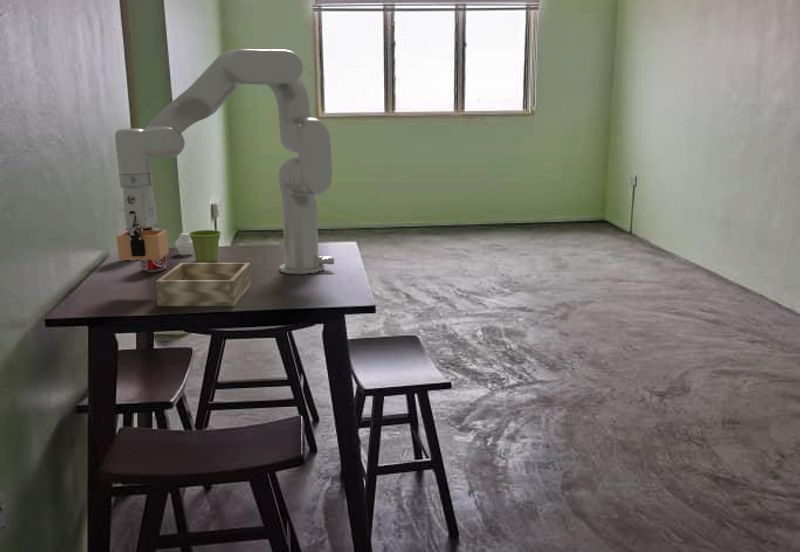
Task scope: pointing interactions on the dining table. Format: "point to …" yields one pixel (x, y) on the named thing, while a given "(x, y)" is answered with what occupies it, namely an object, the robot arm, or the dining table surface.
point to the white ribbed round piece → (184, 244)
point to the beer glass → (122, 223)
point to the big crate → (204, 284)
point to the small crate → (153, 245)
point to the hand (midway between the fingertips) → (144, 252)
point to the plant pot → (205, 245)
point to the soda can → (153, 262)
